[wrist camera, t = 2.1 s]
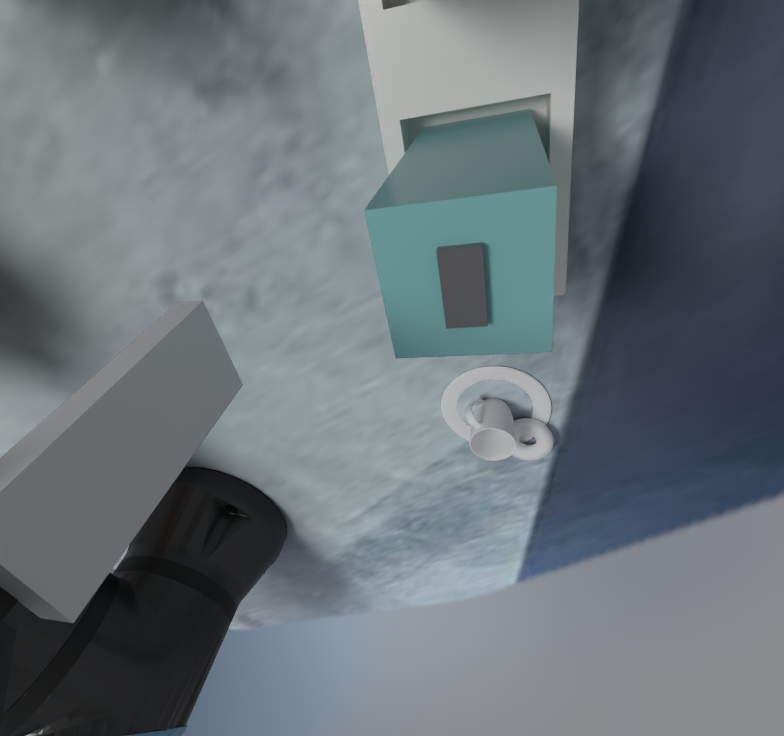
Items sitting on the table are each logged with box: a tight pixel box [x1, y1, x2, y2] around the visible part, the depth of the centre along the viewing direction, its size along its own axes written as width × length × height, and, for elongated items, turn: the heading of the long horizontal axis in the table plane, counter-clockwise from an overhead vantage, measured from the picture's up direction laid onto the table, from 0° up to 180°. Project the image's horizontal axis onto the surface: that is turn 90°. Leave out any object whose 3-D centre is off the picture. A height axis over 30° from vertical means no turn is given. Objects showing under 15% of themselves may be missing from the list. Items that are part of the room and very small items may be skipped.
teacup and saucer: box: [441, 366, 554, 461], centre depth 33 cm, size 9×8×4 cm
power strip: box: [358, 0, 579, 296], centre depth 19 cm, size 22×8×4 cm, turn 11°
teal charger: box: [364, 109, 557, 358], centre depth 17 cm, size 5×5×12 cm
